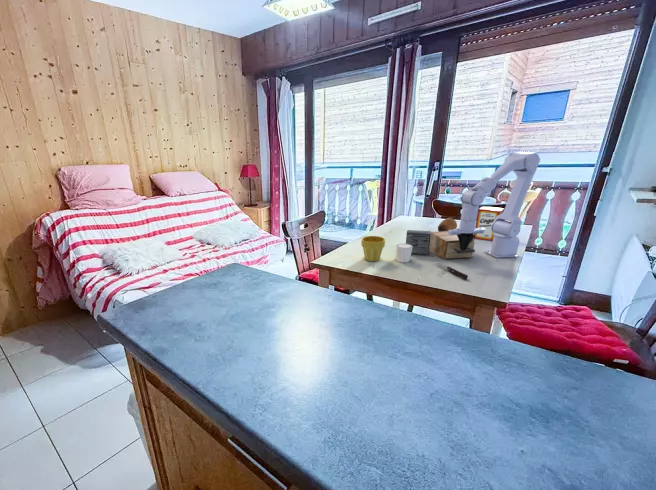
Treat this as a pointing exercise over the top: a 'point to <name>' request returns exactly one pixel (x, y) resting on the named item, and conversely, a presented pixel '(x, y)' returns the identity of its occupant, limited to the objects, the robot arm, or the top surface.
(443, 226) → the potato
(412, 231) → the small box
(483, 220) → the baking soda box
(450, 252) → the drawer
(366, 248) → the flower pot
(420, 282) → the top surface
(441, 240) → the cabinet
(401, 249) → the white tapered cylinder
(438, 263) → the kitchen knife
